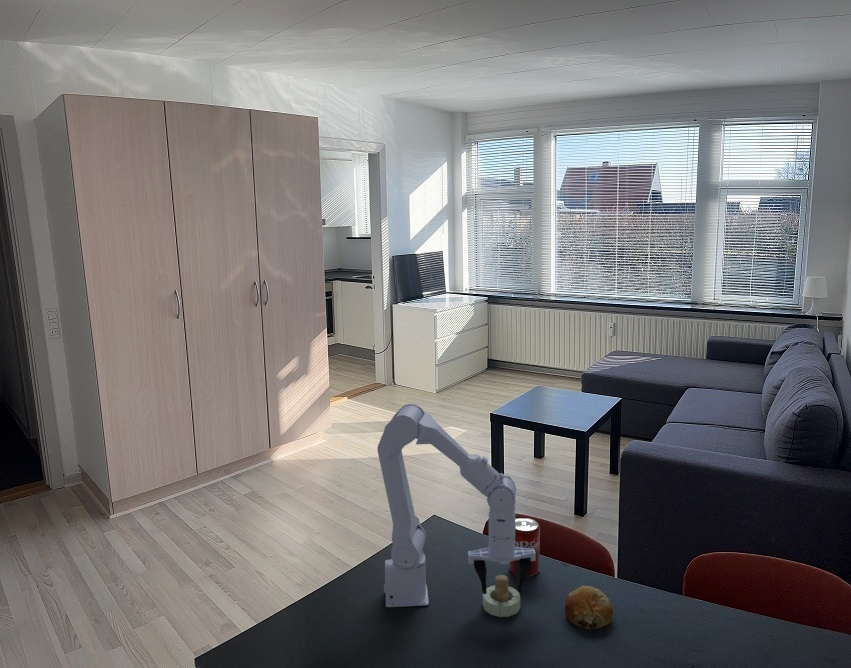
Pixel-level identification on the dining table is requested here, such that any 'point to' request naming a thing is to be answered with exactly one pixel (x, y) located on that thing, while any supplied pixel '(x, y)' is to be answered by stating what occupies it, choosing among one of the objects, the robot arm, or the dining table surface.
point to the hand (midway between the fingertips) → (501, 590)
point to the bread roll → (588, 608)
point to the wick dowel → (501, 588)
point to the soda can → (527, 542)
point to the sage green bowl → (501, 603)
